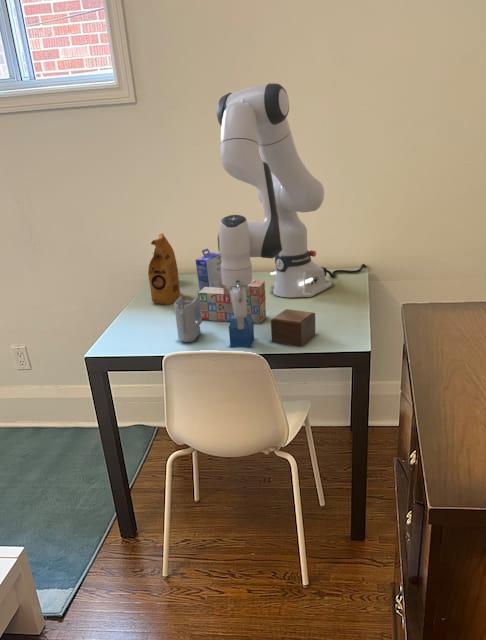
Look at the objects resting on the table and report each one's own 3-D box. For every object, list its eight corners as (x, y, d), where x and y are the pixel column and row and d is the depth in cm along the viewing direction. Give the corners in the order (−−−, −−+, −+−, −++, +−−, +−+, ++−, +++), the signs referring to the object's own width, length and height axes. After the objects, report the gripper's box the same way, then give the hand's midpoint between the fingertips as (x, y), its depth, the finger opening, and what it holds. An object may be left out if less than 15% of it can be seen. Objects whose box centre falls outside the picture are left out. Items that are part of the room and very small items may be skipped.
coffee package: (147, 304, 239) (138, 241, 227) (159, 293, 249) (150, 232, 237) (174, 305, 237) (166, 241, 225) (184, 293, 247) (177, 232, 235)
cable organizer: (204, 330, 214) (200, 293, 208) (193, 345, 204) (189, 306, 198) (184, 329, 216) (180, 293, 209) (173, 344, 205) (168, 306, 199)
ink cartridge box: (213, 284, 254) (209, 245, 246) (225, 286, 252) (222, 247, 244) (198, 292, 248) (194, 252, 240) (210, 294, 245) (206, 253, 237)
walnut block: (286, 330, 209) (285, 308, 205) (315, 334, 205) (315, 311, 201) (271, 342, 202) (270, 318, 198) (301, 346, 198) (301, 323, 194)
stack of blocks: (200, 320, 222) (196, 283, 216) (207, 313, 227) (203, 277, 221) (260, 323, 216) (259, 286, 209) (266, 317, 221) (265, 280, 214)
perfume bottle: (250, 347, 200) (248, 308, 193) (230, 347, 201) (227, 308, 194) (254, 339, 205) (252, 301, 198) (234, 339, 206) (231, 301, 199)
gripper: (250, 286, 183) (253, 334, 191) (244, 266, 200) (247, 311, 208) (228, 287, 183) (231, 336, 190) (223, 267, 200) (226, 312, 207)
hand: (239, 322), depth 199 cm, fingers open, 8 cm apart
